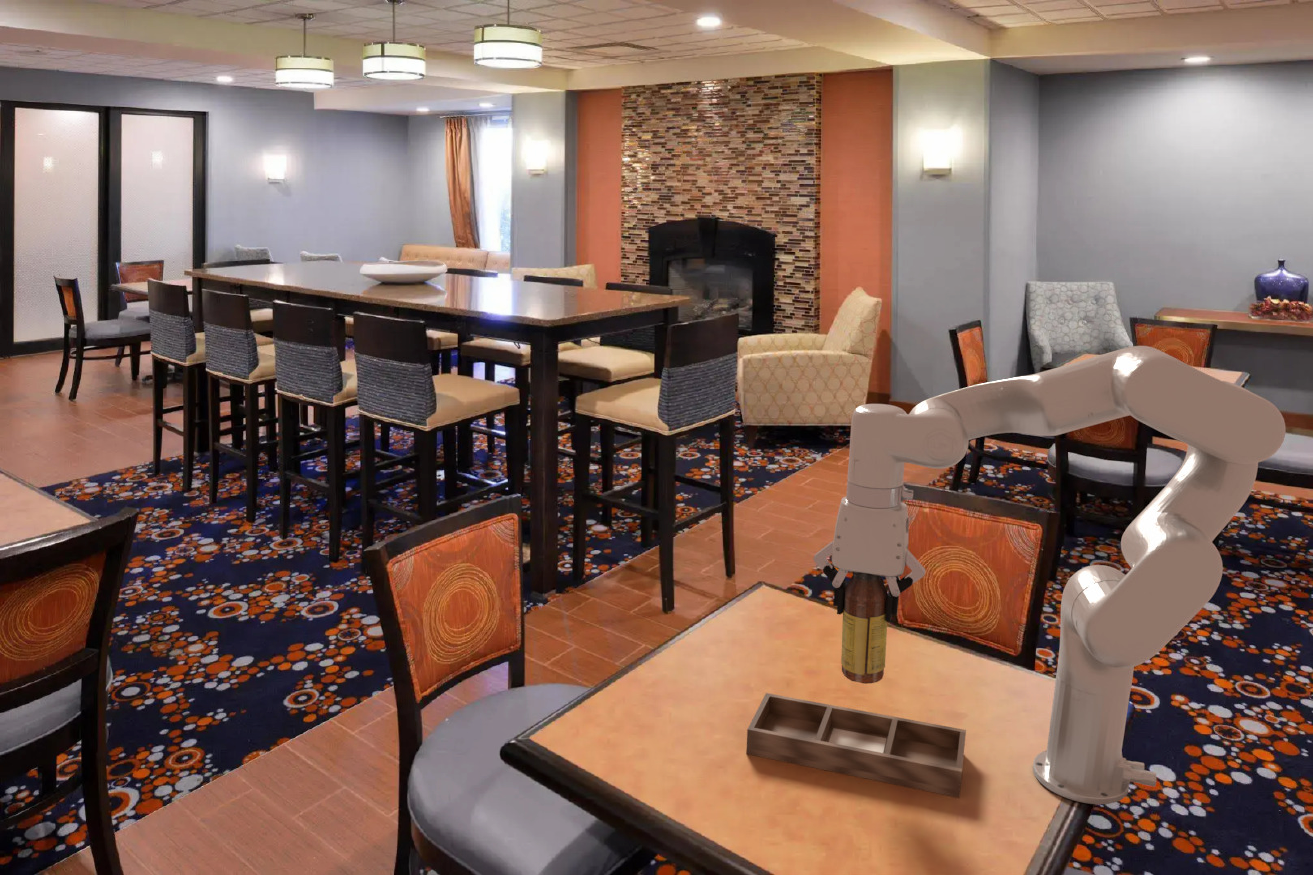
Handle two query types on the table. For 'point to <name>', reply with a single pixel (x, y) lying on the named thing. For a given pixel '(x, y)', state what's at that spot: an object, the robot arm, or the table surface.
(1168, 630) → the robot arm
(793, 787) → the table surface
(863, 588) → the sauce bottle
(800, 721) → the walnut rack
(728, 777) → the table surface
